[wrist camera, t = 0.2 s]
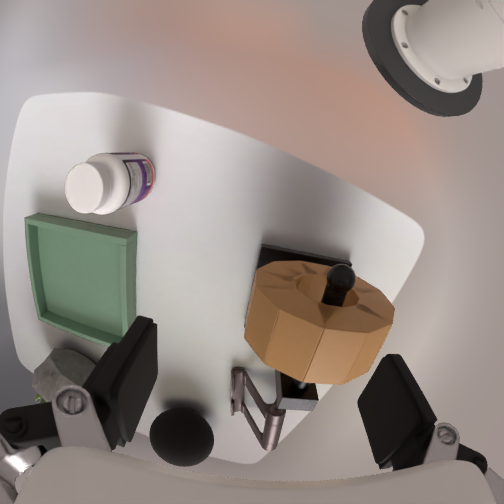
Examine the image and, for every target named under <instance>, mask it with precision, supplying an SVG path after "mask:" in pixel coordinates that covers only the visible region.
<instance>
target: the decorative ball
mask: <svg viewBox="0 0 504 504" xmlns="http://www.w3.org/2000/svg"><path fill="white" fill-rule="evenodd" d="M150 442H151V445H152V447H153V449H154V451H155V452H156V453H157V454H158V456H159V457H161V458H162V459H163V460H165V461H166V462H168V463H170V464H173V465H176V466H184V467H185V466H193V465H196V464H199V463H200V462H202V461H203V460H205V459H206V458H207V457H208V456H209V454H210V453H211V451H212V448H213V445H214V435H213V432H212V429H211V427H210V425H209V424H208V422H207V421H206V420H205V419H204V418H203V417H202V416H200V415H199V414H197V413H195V412H193V411H191V410H187V409H180V408H177V409H170V410H167V411H165V412H163V413H161V414H160V415H159V416H157V417H156V419H155V420H154V421H153V423H152V425H151V428H150Z"/></svg>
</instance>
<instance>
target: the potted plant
mask: <svg viewBox="0 0 504 504" xmlns="http://www.w3.org/2000/svg"><path fill="white" fill-rule="evenodd" d="M95 366H96V364H94V363H93V362H92V361H91V360H89V359H88V358H87V357H85V356H84V355H82V354H80V353H78V352H75V351H73V350H71V349H54V350H53V351H52V352H51V353H50V355H49V356H48V357H47V358H46V360H45V361H44V362H43V363H42V364H41V365H40V366H39V367H37V368H36V369H35V371H34V375H33V379H32V384H31V386H33V388H34V389H35V390H36V391H37V392H38V394H37V397H36V400H38V401H39V399H41V398H42V400H41V403H46V402H51V401H52V396H53V393H54V392H55V391H56V390H57V389H58V388H60V387H62V386H65V385H77V386H80V387H82V386H83V384H84V383H85V381H86V380H87V378H88V377H89V375H90V374H91V372H92V371H93V369H94V368H95ZM36 400H35V401H36Z"/></svg>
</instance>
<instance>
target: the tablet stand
mask: <svg viewBox="0 0 504 504" xmlns="http://www.w3.org/2000/svg"><path fill="white" fill-rule="evenodd" d="M244 385H246V387H247V389H248V390H249V392H250V394H251V396H252V397H253V399H254V401H255V402H256V404H257V406H258V408H259V409H260V411H261V413H262V414H263V416H264V418H265V419H266V420H265V426H264V432H263V433H261V432H260V431H259V429H258V427H257V425H256V423H255V422H254V420H253V418H252V416H251V414H250V413H249V411H248V409H247V407H246V405H245V403H244ZM237 411H241V412H242V413H244V415H245V417H246V419H247V421H248V423H249V425H250V426H251V428H252V430H253V432H254V434H255V436H256V437H257V439H258V441H259V443H260V445H261V446H262V448H263V449H265V450H267V451H272V450H274V449H275V448H276V447H277V444H278V440H279V437H280V433H281V429H282V425H283V421H284V417H285V413H286V409H278V408H277V398H276V400H275V402H274V403H273V404H266V403H265V402H264V401H263V399H262V398H261V396H260V394H259V393H258V391H257V389H256V388H255V386H254V384H253V383H252V381H251V379H250V378H249V376H248V374H247V372H246V371H245V369H243V368H240V367H236V368H233V369H232V371H231V416H232V415H234V412H237Z"/></svg>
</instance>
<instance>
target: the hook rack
mask: <svg viewBox="0 0 504 504" xmlns="http://www.w3.org/2000/svg"><path fill="white" fill-rule="evenodd" d="M274 261H304V262H310V263H315V264H321V265H326V266H330V267H332V268H331V269H330V270H329V272H328V274H327V284H326V287H325V290H324V293H323V296H322V299H321V303H323V304H326V305H331V306H338V307H343V304H344V301H345V298H346V295H347V293H348V292H349V291H350V290H351V289H352V288H353V287H354V285H355V282H356V275H355V272H354V271H353V269H352V268H351V266H352V263H351V262H350V261H347V260H342V259H337V258H332V257H327V256H322V255H316V254H311V253H306V252H301V251H296V250H291V249H285V248H280V247H275V246H269V245H264V244H261V248H260V252H259V257H258V262H257V267H256V270H257V269H259V268H261V267H263V266H265V265H267V264H269V263H271V262H274ZM254 277H255V276H254ZM253 282H254V281H253ZM252 287H253V286H252ZM250 296H251V295H250ZM249 301H250V300H249ZM248 306H249V305H248ZM247 310H248V309H247ZM246 315H247V314H246ZM245 323H246V319H245ZM244 328H245V324H244ZM275 376H276V393H277V408H278V409H289V410H305V411H313V409H314V408H315V406H316V404H317V402H318V400H319V399H318V394H317V389H316V385H315V383H306V382H303V381H302V382H301V381H299V380H297V379H294V378H292V377H290V376H288V375H286V374H284V373H282V372H280V371H278V370H276V369H275Z"/></svg>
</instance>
